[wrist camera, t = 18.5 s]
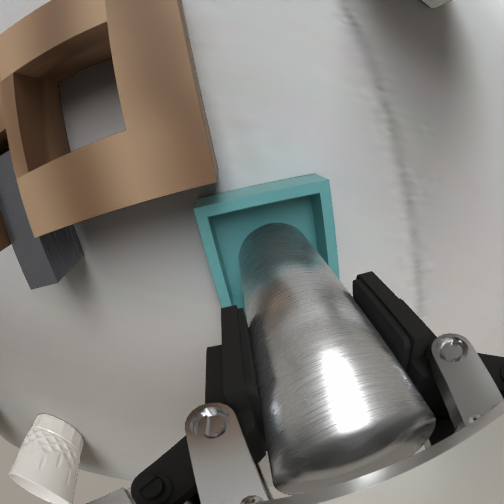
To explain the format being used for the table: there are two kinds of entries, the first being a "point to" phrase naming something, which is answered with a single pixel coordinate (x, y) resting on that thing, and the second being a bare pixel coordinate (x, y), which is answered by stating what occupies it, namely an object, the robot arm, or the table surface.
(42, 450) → the white cup
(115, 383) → the table surface
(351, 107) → the table surface
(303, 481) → the peg
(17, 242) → the bar
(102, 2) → the socket block
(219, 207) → the tray
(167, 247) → the table surface
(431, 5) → the skincare box
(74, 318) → the table surface
